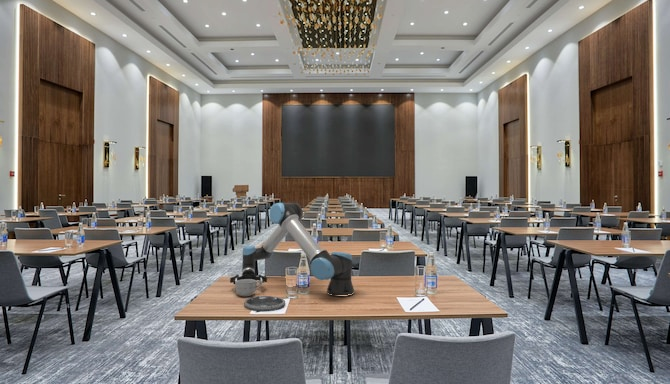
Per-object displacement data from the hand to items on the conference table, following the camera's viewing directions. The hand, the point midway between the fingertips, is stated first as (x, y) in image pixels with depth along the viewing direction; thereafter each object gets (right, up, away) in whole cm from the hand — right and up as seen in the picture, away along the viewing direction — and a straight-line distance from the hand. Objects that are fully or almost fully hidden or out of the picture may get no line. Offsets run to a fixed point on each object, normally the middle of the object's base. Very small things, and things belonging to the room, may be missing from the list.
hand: (248, 283), depth 226 cm
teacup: (0, -6, -2) cm, 7 cm away
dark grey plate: (+12, -6, -20) cm, 25 cm away
